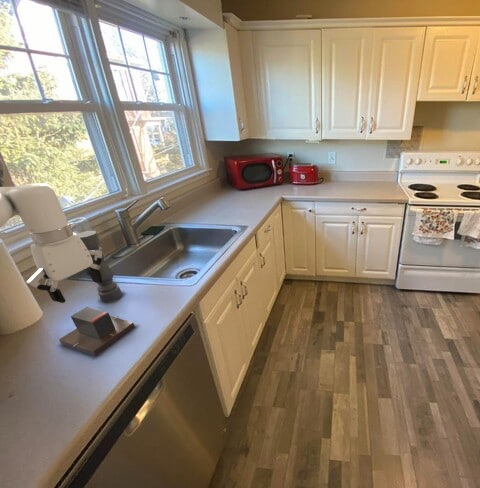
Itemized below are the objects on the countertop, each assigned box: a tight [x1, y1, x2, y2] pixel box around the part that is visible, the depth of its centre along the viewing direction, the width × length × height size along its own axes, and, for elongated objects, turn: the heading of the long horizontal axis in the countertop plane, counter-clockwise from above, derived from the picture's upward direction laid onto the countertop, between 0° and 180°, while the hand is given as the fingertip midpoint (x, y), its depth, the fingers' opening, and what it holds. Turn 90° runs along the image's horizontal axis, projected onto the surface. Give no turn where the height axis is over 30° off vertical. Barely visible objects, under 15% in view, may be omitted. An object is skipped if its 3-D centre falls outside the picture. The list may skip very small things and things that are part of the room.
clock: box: [70, 306, 115, 339], centre depth 81 cm, size 9×4×6 cm, turn 71°
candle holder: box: [76, 230, 123, 304], centre depth 95 cm, size 6×6×25 cm
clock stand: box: [58, 315, 136, 357], centre depth 83 cm, size 14×13×2 cm
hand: (80, 291), depth 77 cm, fingers open, 9 cm apart
